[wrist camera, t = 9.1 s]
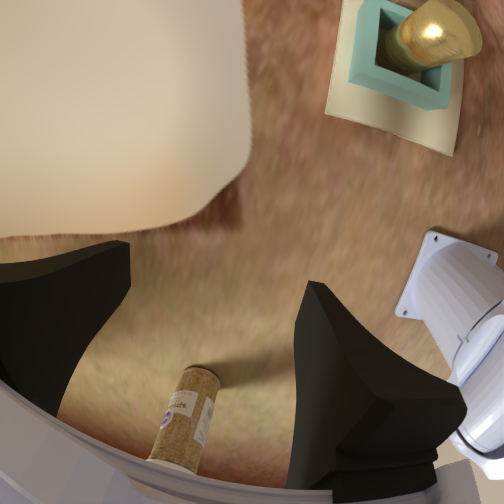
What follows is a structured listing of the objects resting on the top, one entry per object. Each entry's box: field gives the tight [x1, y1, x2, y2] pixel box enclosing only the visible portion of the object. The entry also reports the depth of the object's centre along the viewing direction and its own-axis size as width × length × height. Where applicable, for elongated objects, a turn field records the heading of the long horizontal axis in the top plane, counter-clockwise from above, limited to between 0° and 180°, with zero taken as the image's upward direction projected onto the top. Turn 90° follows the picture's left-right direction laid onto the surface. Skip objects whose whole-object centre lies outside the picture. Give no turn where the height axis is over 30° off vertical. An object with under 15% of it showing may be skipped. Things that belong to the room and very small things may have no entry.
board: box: [325, 0, 464, 157], centre depth 12 cm, size 10×18×1 cm, turn 170°
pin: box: [375, 0, 482, 77], centre depth 10 cm, size 3×3×8 cm
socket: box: [348, 0, 452, 111], centre depth 12 cm, size 6×6×3 cm
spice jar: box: [146, 367, 220, 475], centre depth 22 cm, size 5×5×13 cm
